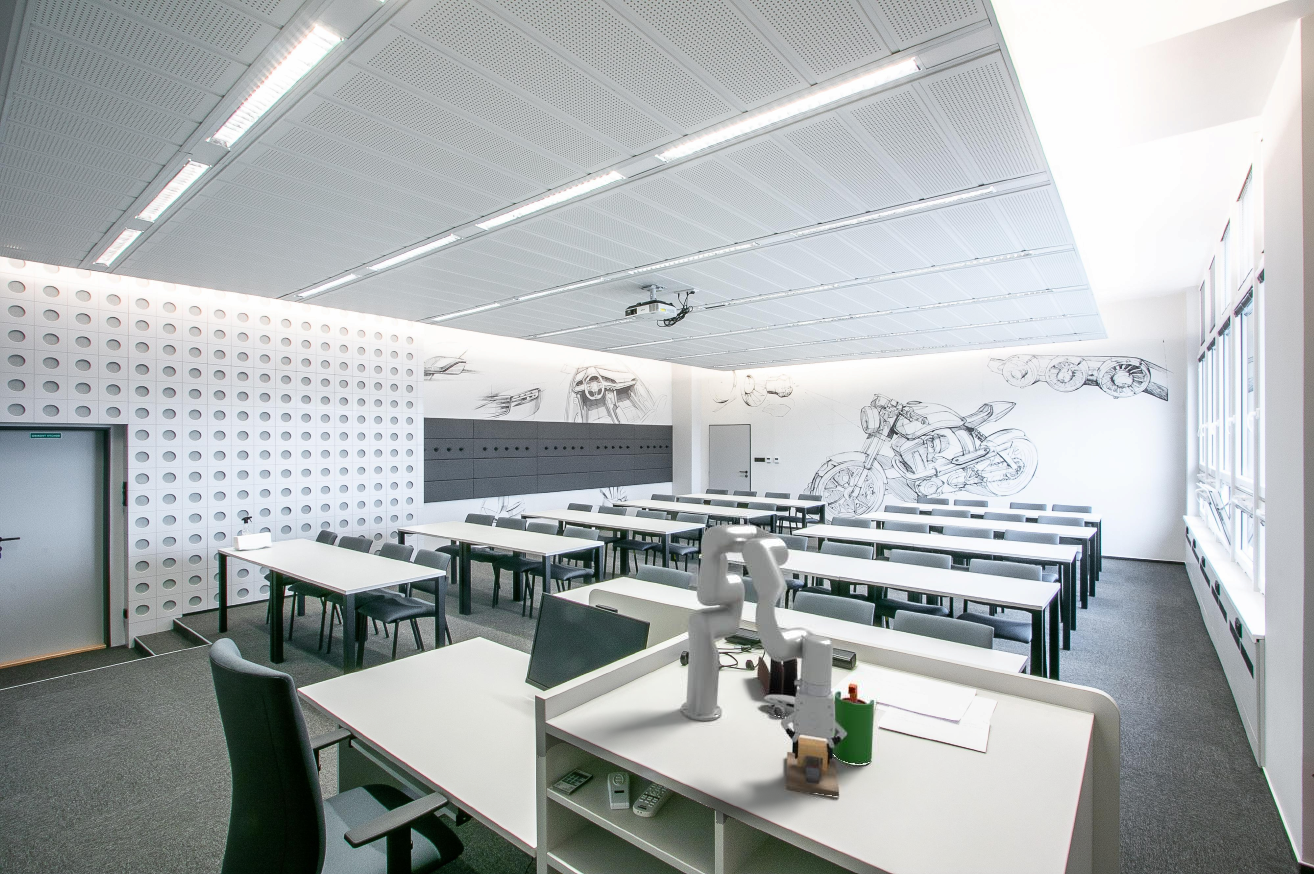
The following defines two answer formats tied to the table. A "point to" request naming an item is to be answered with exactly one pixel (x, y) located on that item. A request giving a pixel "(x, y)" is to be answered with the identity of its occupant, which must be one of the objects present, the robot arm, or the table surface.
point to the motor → (854, 727)
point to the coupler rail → (812, 769)
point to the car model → (780, 705)
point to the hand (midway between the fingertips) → (811, 758)
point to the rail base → (798, 782)
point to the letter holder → (778, 677)
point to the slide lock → (812, 750)
